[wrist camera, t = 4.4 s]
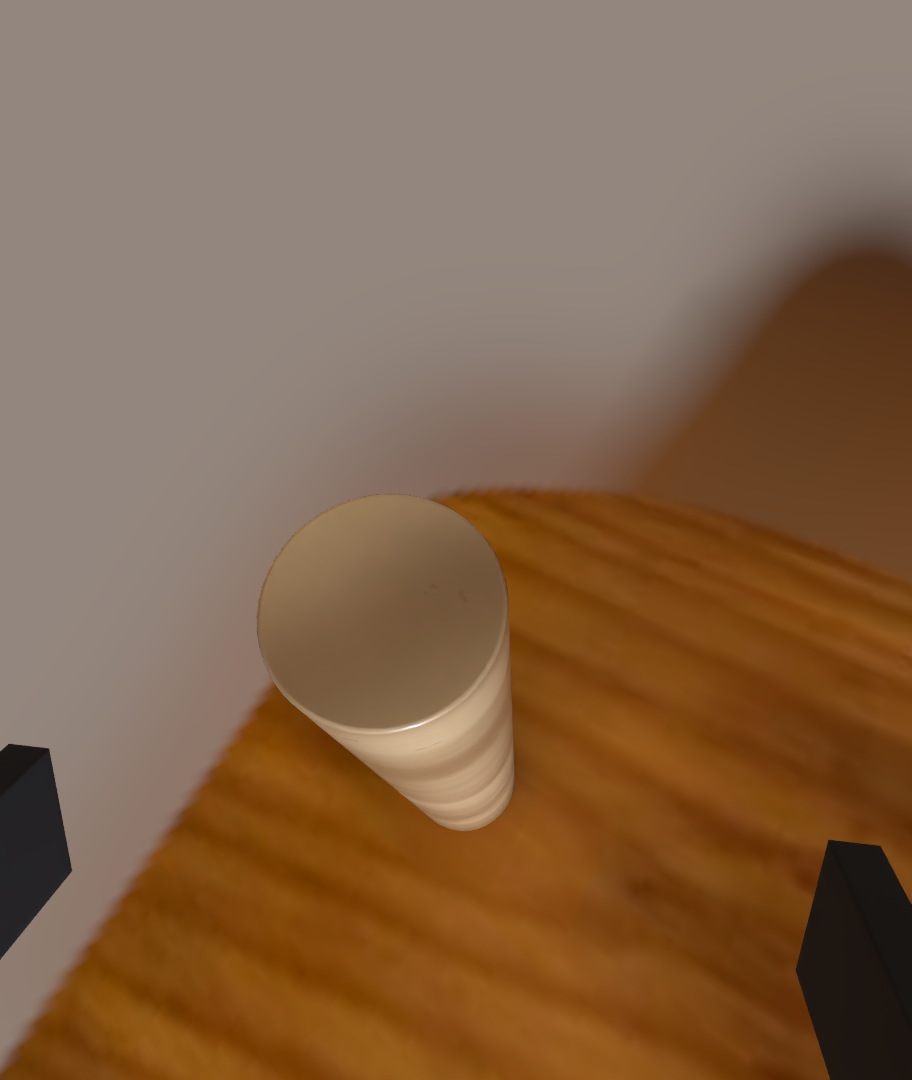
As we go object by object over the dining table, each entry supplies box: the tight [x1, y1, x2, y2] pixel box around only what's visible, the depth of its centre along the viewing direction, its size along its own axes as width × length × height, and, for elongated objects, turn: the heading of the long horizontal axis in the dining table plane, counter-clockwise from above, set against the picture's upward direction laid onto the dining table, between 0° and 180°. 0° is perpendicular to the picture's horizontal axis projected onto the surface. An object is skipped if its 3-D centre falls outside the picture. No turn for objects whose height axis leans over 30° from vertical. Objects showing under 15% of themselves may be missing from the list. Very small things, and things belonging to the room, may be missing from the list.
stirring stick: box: [257, 494, 515, 831], centre depth 17 cm, size 3×3×16 cm
